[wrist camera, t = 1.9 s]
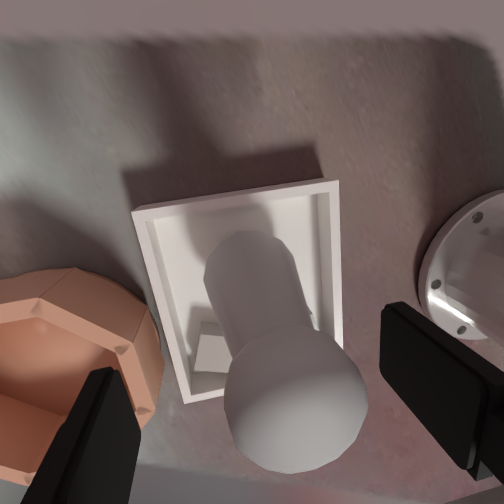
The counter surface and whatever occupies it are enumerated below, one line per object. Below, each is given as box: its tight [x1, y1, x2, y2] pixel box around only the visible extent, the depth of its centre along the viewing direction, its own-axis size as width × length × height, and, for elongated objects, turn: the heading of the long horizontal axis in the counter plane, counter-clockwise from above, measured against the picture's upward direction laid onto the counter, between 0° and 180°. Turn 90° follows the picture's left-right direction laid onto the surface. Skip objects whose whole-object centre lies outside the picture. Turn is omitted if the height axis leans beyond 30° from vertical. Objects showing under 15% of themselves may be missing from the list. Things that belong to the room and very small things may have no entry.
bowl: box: [0, 267, 165, 486], centre depth 18 cm, size 12×12×5 cm
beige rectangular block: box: [194, 322, 233, 373], centre depth 21 cm, size 4×3×2 cm
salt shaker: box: [203, 231, 368, 474], centre depth 14 cm, size 6×6×13 cm
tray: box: [131, 178, 343, 404], centre depth 19 cm, size 12×14×2 cm
